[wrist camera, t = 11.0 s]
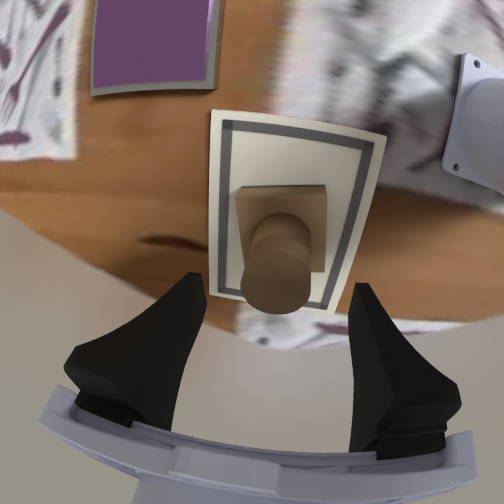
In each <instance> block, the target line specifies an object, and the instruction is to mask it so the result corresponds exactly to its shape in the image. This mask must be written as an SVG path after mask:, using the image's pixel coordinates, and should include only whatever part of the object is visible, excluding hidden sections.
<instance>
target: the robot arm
mask: <svg viewBox="0 0 504 504" xmlns="http://www.w3.org/2000/svg"><path fill="white" fill-rule="evenodd" d="M474 61H476V63H477V67H475V65H474ZM454 164H457V167H456V169H454V170H453V166H454ZM441 165H442V168H443V169H444V170H445V171H446V172H448V173H450V174H453V175H456V176H459V177H462V178H465V179H467V180H470V181H473V182H475V183H478V184H480V185H483V186H485V187H488V188H490V189H493V190H495V191H498V192H500V193H501V194H502V195H503V196H504V72H502V71H500V70H499V69H497V68H496V67H494V66H492V65H491V64H489V63H487V62H485V61H484V60H482V59H480V58H478V57H477V56H475V55H473V54H471V53H464V54H463V55H462V59H461V68H460V76H459V83H458V90H457V96H456V102H455V107H454V112H453V117H452V122H451V127H450V131H449V135H448V140H447V144H446V148H445V151H444V155H443V159H442V164H441ZM206 307H207V301H206V296H205V292H204V287H203V282H202V277H201V273H191V272H189V273H188V274H187V275H185V276H184V277H183V278H182V279H181V280H180V281H179V282H178V283H177V284H176V285H174V286H173V287H172V288H171V289H170V290H169V291H168V292H167V293H166V294H164V295H163V296H162V297H161V298H160V299H159V300H157V301H156V302H155V303H154V304H153V305H151V306H150V307H149V308H148V309H146V310H145V311H144V312H143V313H141V314H140V315H138V316H137V317H135V318H134V319H132V320H131V321H129V322H128V323H126V324H124V325H122V326H121V327H119V328H117V329H116V330H114V331H112V332H110V333H108V334H106V335H104V336H102V337H100V338H97V339H95V340H92V341H90V342H87V343H84V344H81V345H78V346H76V347H75V348H74V350H73V351H72V353H71V355H70V356H69V358H68V359H67V361H66V363H65V365H64V370H65V373H66V374H67V375H68V377H69V378H70V379H71V380H72V381H73V382H74V384H75V385H76V386H77V387H78V388H79V389H80V392H79V394H78V395H77V394H76V393H75V392H73V391H71V390H69V389H67V388H65V387H63V386H60V385H57V386H56V388H55V389H54V391H53V393H52V395H51V397H50V399H49V400H48V402H47V404H46V406H45V408H44V410H43V411H42V413H41V415H40V417H39V420H38V423H39V424H40V425H41V426H42V427H44V428H45V429H46V430H48V431H49V432H50V433H52V434H53V435H54V436H56V437H57V438H59V439H60V440H61V441H63V442H64V443H66V444H68V445H69V446H71V447H73V448H75V449H77V450H79V451H80V452H82V453H84V454H86V455H88V456H90V457H92V458H94V459H96V460H98V461H100V462H102V463H104V464H106V465H108V466H110V467H112V468H115V469H117V470H119V471H121V472H124V473H126V474H128V475H131V476H133V477H136V478H138V479H140V480H139V483H138V486H137V488H136V491H135V494H134V497H133V500H132V503H131V504H403V503H407V502H412V501H417V500H422V499H426V498H430V497H434V496H438V495H441V494H445V493H448V492H451V491H453V490H456V489H458V488H460V487H463V486H465V485H467V484H469V483H472V482H474V481H476V480H477V479H478V472H477V462H476V453H475V447H474V439H473V433H472V431H471V430H470V431H466V432H462V433H457V434H453V435H450V436H447V437H446V438H445V433H444V432H445V431H446V430H447V423H446V422H447V421H448V420H449V419H450V418H451V417H453V416H454V415H455V414H456V413H457V412H458V410H459V409H460V408H461V405H462V403H461V398H460V393H459V390H458V387H457V384H456V383H454V382H453V381H452V380H450V379H449V378H448V377H446V376H445V375H443V374H442V373H441V372H439V371H438V370H437V369H436V368H435V367H433V366H432V365H431V364H430V363H429V362H428V361H427V360H425V359H424V358H423V357H422V356H421V355H420V354H419V353H418V352H417V351H416V350H415V349H414V348H413V346H412V345H411V344H410V343H409V342H408V341H407V340H406V338H405V337H404V336H403V335H402V333H401V332H400V331H399V329H398V328H397V327H396V325H395V324H394V323H393V321H392V320H391V318H390V317H389V315H388V314H387V312H386V311H385V309H384V308H383V306H382V305H381V303H380V301H379V300H378V298H377V297H376V295H375V293H374V292H373V290H372V288H371V286H370V285H369V284H368V283H355V287H354V291H353V296H352V300H351V304H350V308H349V312H348V334H349V342H350V350H351V356H352V357H351V358H352V366H353V376H354V396H353V398H354V399H353V416H352V428H351V438H350V446H349V453H311V452H291V451H278V450H268V449H259V448H251V447H244V446H237V445H231V444H225V443H219V442H214V441H208V440H204V439H199V438H194V437H190V436H186V435H182V434H178V433H174V432H171V427H172V421H173V414H174V409H175V404H176V399H177V395H178V391H179V387H180V382H181V379H182V375H183V371H184V367H185V364H186V362H187V359H188V356H189V354H190V351H191V349H192V347H193V344H194V342H195V339H196V337H197V334H198V332H199V329H200V327H201V325H202V322H203V318H204V315H205V311H206Z"/></svg>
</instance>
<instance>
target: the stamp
mask: <svg viewBox="0 0 504 504" xmlns="http://www.w3.org/2000/svg"><path fill="white" fill-rule="evenodd" d="M235 204H236V211H237V218H238V225H239V232H240V239H241V246H242V253H243V260H244V267H245V268H244V271H243V275H242V278H241V282H240V289H241V293H242V295H243V297H244V299H245V300H246V301H247V302H248V303H249V304H250V305H251V306H252V307H254V308H256V309H257V310H260V311H262V312H265V313H269V314H288V313H291V312H294V311H296V310H298V309H300V308H301V307H303V306H304V305H305V304H306V302H307V301H308V299H309V297H310V294H311V272H318V273H325V257H326V233H327V193H326V187H325V185H260V186H241V188H240V190H239V192H238V194H237V195H236V197H235Z"/></svg>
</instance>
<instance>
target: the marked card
mask: <svg viewBox="0 0 504 504" xmlns="http://www.w3.org/2000/svg"><path fill="white" fill-rule="evenodd" d="M386 141H387V136H385V135H381V134H377V133H373V132H369V131H365V130H360V129H356V128H351V127H347V126H342V125H337V124H332V123H327V122H321V121H315V120H310V119H303V118H297V117H290V116H282V115H275V114H266V113H256V112H246V111H233V110H217V109H213V110H212V111H211V135H210V167H209V295H214V296H219V297H225V298H230V299H236V300H241V301H246V300H245V299H244V297H243V295H242V293H241V289H240V282H241V278H242V275H243V271H244V268H245V267H244V260H243V253H242V246H241V239H240V232H239V225H238V218H237V211H236V204H235V197H236V195H237V194H238V192H239V190H240V188H241V186H260V185H325V187H326V193H327V233H326V257H325V273H318V272H311V294H310V297H309V299H308V301H307V302H306V304H305V305H304V306H303V307H301V308H300V309H298V310H303V311H310V312H317V313H324V314H331V315H334V312H335V310H336V307H337V304H338V302H339V299H340V296H341V294H342V291H343V288H344V286H345V283H346V280H347V277H348V274H349V272H350V269H351V266H352V263H353V260H354V257H355V254H356V251H357V248H358V245H359V242H360V238H361V235H362V232H363V229H364V225H365V222H366V219H367V215H368V212H369V208H370V205H371V201H372V198H373V194H374V190H375V187H376V183H377V179H378V175H379V171H380V167H381V163H382V158H383V154H384V150H385V145H386Z"/></svg>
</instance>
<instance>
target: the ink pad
mask: <svg viewBox="0 0 504 504" xmlns="http://www.w3.org/2000/svg"><path fill="white" fill-rule="evenodd" d="M224 9H225V0H95V8H94V17H93V28H92V43H91V96H95V95H102V94H110V93H119V92H130V91H142V90H160V89H217V88H218V82H219V67H220V54H221V41H222V30H223V19H224Z"/></svg>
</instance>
